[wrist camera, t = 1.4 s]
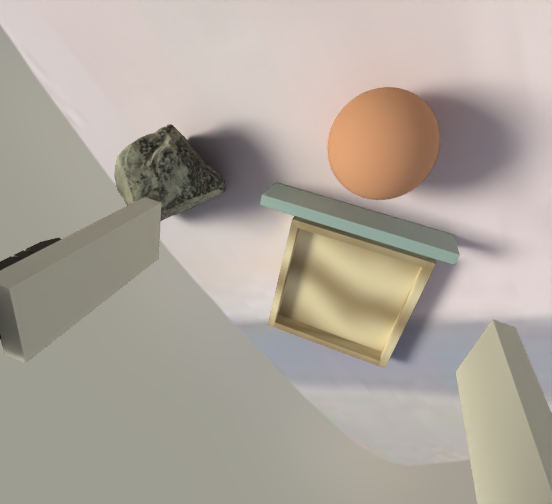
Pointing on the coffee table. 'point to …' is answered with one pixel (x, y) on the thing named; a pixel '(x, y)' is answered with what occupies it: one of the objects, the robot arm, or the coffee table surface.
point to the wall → (362, 222)
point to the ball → (383, 143)
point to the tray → (347, 290)
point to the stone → (166, 173)
